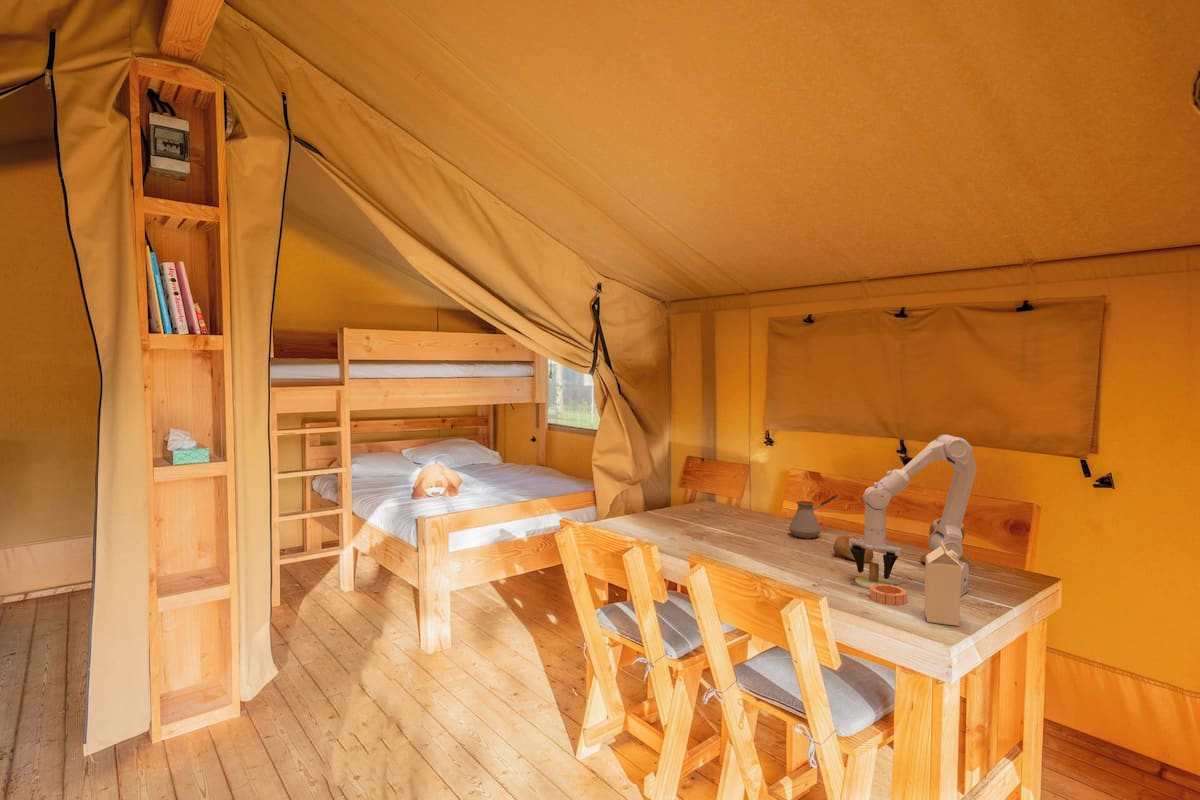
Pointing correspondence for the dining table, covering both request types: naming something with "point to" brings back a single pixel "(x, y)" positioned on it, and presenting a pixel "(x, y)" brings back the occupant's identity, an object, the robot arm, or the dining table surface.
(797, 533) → the coffee pot
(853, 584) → the mat
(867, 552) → the bread roll
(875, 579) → the lid
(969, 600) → the dining table surface
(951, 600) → the milk carton
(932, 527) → the stone cup
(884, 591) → the bowl
